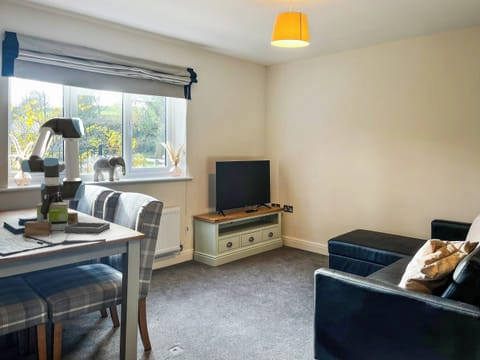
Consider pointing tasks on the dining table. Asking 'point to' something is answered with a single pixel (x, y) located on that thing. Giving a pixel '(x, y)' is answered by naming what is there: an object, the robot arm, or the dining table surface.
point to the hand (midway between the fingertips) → (53, 222)
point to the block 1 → (38, 228)
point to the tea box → (55, 215)
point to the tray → (87, 227)
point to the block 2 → (72, 218)
